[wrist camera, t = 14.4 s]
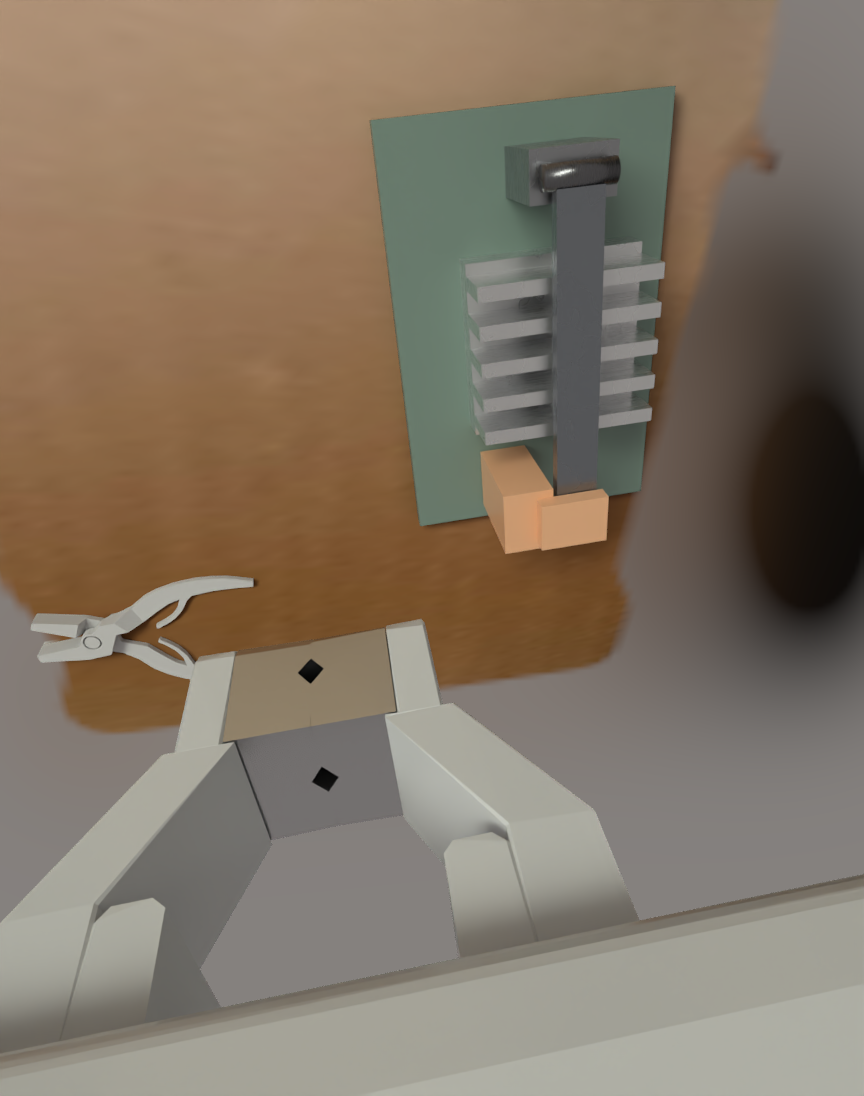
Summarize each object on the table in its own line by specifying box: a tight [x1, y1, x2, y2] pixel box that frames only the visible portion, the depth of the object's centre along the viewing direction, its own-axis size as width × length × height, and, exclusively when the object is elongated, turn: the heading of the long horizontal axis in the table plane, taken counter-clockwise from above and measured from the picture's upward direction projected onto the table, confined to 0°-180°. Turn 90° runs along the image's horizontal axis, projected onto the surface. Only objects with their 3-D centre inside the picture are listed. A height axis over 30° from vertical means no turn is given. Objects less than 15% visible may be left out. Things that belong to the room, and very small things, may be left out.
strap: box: [538, 155, 621, 497], centre depth 36 cm, size 19×4×1 cm, turn 6°
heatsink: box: [459, 137, 665, 446], centre depth 38 cm, size 15×10×5 cm, turn 6°
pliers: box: [31, 576, 254, 679], centre depth 49 cm, size 10×2×15 cm
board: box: [370, 86, 675, 526], centre depth 41 cm, size 24×16×1 cm, turn 6°
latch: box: [480, 445, 609, 554], centre depth 43 cm, size 4×6×7 cm, turn 96°
